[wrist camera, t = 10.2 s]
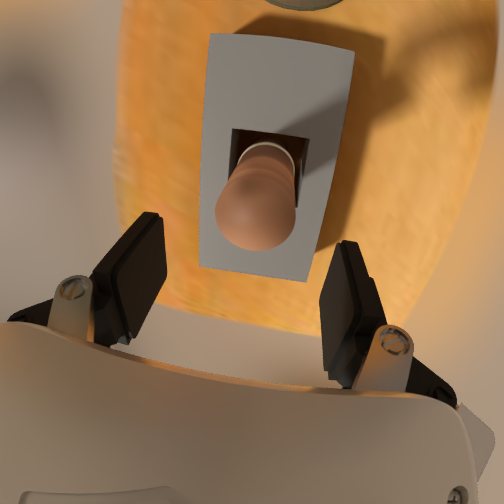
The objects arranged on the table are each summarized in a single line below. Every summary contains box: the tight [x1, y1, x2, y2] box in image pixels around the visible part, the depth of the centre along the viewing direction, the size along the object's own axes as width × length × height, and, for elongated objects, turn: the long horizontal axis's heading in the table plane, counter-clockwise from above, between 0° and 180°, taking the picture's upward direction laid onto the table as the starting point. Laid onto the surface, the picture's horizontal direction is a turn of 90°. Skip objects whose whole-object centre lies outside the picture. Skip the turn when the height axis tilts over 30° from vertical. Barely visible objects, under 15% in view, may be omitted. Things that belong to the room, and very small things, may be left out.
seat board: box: [199, 33, 355, 282], centre depth 22 cm, size 20×10×4 cm, turn 174°
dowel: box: [215, 137, 296, 251], centre depth 19 cm, size 4×4×12 cm
